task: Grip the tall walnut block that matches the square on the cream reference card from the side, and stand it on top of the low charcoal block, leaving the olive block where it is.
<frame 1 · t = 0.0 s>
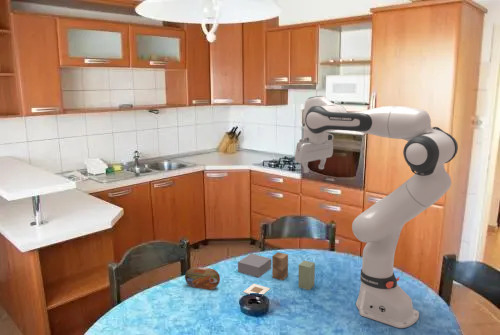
hand: (314, 170, 170), 48 cm above the table, tool pointing down, fingers open, 8 cm apart
reference card: (256, 290, 171), on the table
olive block: (306, 286, 174), on the table
walnut block: (280, 276, 183), on the table
base block: (254, 270, 190), on the table
tin: (203, 287, 175), on the table
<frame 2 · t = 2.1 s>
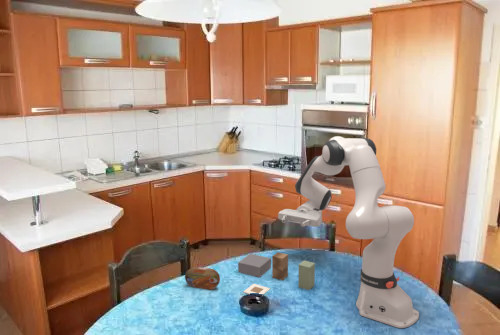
hand: (292, 223, 188), 21 cm above the table, tool horizontal, fingers open, 8 cm apart
nothing on the table moved.
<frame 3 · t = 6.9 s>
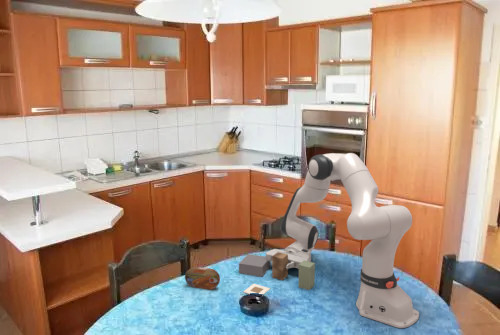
hand: (279, 265, 181), 6 cm above the table, tool horizontal, fingers closed on walnut block, 5 cm apart
walnut block: (280, 276, 183), on the table, touching gripper
when the fingers open (12 cm above the table, at t = 11.4 s): walnut block drops 2 cm, resting on base block.
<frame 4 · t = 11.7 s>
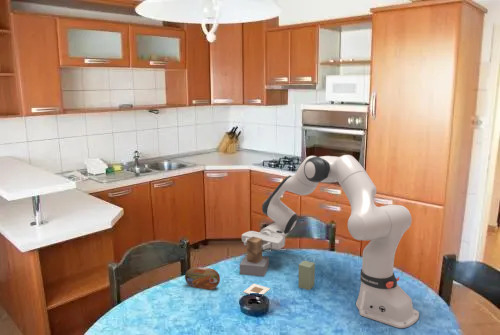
hand: (253, 245, 186), 12 cm above the table, tool horizontal, fingers open, 8 cm apart
walnut block: (254, 260, 189), point 5 cm above the table, touching base block
base block: (254, 270, 190), on the table, touching walnut block
everything else where it was.
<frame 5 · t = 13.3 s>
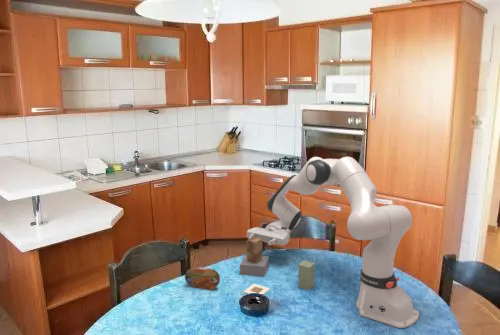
hand: (258, 241, 190), 12 cm above the table, tool horizontal, fingers open, 8 cm apart
nothing on the table moved.
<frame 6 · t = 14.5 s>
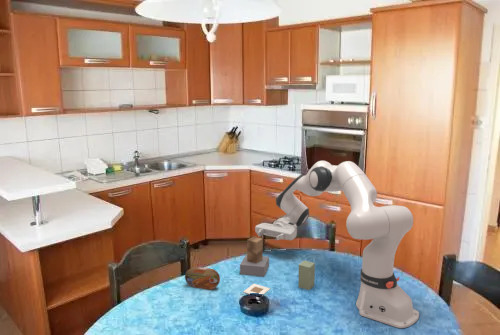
hand: (267, 236, 197), 12 cm above the table, tool horizontal, fingers open, 8 cm apart
walnut block: (254, 260, 189), point 5 cm above the table
base block: (254, 270, 190), on the table
everything else where it was.
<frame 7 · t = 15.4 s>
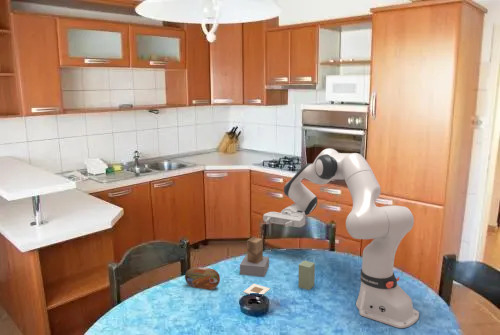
hand: (275, 223, 195), 19 cm above the table, tool horizontal, fingers open, 8 cm apart
nothing on the table moved.
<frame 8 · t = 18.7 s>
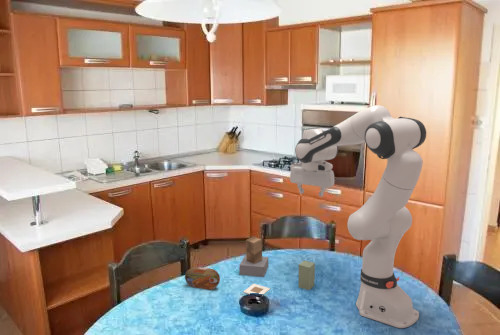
hand: (311, 194, 186), 34 cm above the table, tool pointing down, fingers open, 8 cm apart
at the end: walnut block inside the target area on the base block (0.5 cm from its centre), point 5.0 cm above the base block's base; walnut block tilted 0°; olive block moved 0.0 cm from its start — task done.
